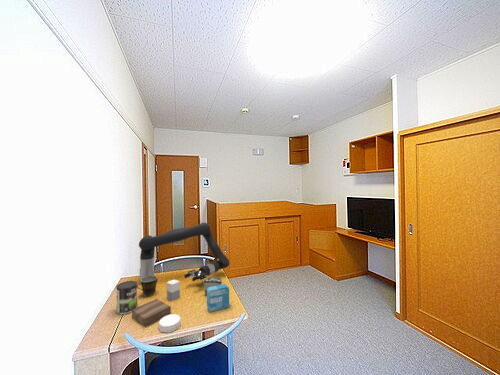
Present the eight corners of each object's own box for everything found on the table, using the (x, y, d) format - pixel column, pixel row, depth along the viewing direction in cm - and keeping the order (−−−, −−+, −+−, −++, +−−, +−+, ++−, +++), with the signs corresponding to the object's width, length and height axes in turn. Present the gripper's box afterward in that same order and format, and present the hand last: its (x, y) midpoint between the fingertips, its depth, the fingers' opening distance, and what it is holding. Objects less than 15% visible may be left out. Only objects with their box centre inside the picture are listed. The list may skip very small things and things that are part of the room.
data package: (208, 312, 119) (208, 290, 119) (206, 308, 123) (206, 287, 123) (229, 307, 124) (229, 286, 124) (226, 303, 128) (226, 283, 128)
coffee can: (141, 306, 126) (141, 281, 126) (125, 316, 117) (125, 289, 117) (128, 303, 130) (128, 279, 130) (112, 312, 120) (111, 287, 120)
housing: (166, 298, 135) (166, 282, 135) (174, 294, 139) (174, 279, 139) (172, 301, 132) (171, 284, 132) (179, 297, 136) (179, 281, 136)
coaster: (184, 321, 112) (183, 314, 112) (174, 334, 102) (174, 326, 102) (166, 319, 113) (166, 312, 113) (154, 332, 103) (154, 324, 103)
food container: (224, 292, 142) (224, 276, 142) (222, 296, 136) (221, 280, 136) (206, 291, 143) (205, 276, 143) (203, 296, 137) (202, 280, 137)
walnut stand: (132, 317, 115) (132, 309, 115) (156, 305, 127) (156, 298, 127) (145, 327, 107) (145, 319, 107) (170, 313, 118) (170, 306, 118)
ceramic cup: (152, 289, 147) (152, 274, 147) (160, 293, 142) (160, 277, 142) (132, 297, 137) (132, 281, 137) (141, 301, 131) (141, 285, 131)
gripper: (200, 263, 162) (181, 270, 149) (213, 267, 153) (195, 275, 140) (200, 273, 162) (182, 281, 149) (214, 277, 153) (195, 286, 140)
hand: (188, 278), depth 144 cm, fingers open, 8 cm apart
